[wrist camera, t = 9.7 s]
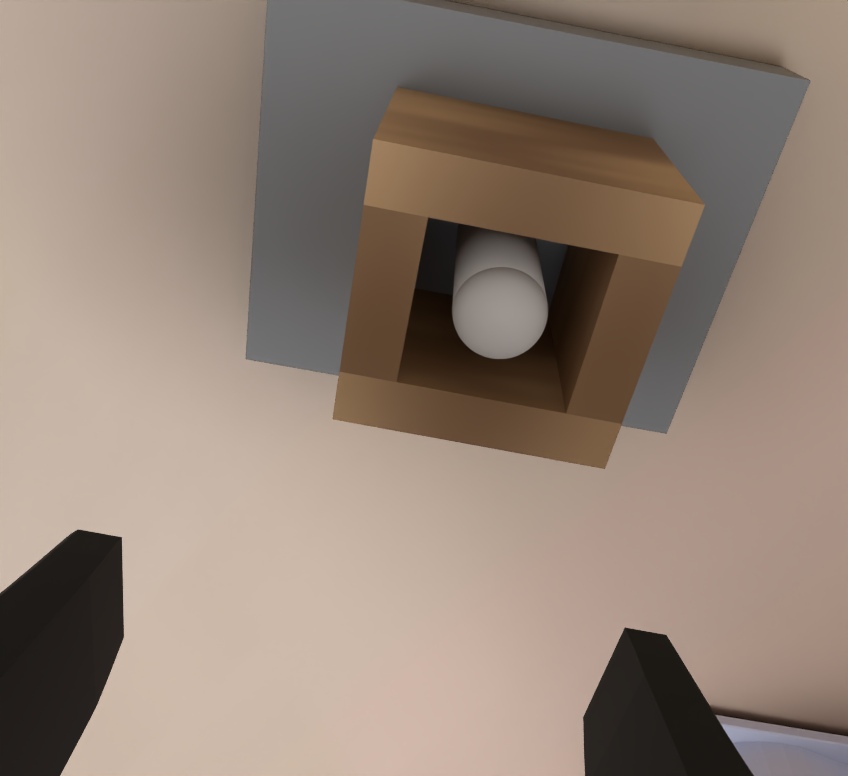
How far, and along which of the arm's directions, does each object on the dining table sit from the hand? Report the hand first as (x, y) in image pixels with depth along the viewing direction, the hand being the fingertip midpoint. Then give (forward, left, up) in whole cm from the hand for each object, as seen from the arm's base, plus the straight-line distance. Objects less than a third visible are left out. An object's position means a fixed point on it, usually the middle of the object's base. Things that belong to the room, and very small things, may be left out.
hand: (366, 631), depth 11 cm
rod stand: (-1, -3, -9) cm, 10 cm away
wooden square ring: (-1, -3, -8) cm, 9 cm away
